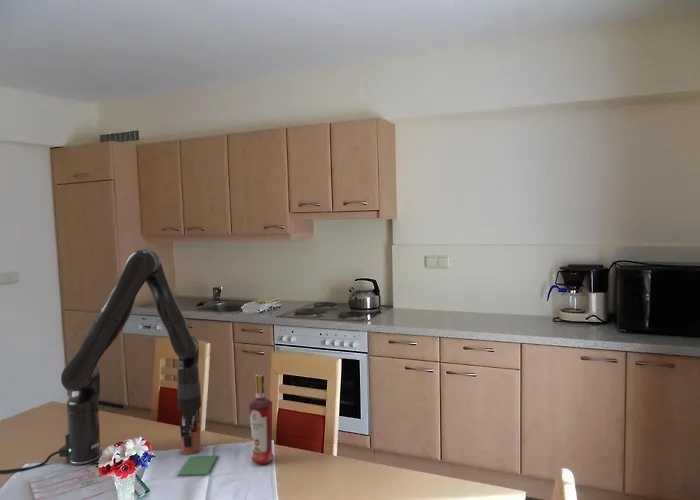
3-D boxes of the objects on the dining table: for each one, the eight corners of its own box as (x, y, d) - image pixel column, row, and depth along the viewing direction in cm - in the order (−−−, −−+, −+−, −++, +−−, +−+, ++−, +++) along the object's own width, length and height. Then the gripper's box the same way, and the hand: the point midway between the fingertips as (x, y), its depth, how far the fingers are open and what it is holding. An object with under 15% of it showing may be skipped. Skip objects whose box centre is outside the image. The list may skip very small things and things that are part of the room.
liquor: (246, 464, 158) (243, 377, 157) (258, 454, 165) (255, 371, 163) (267, 468, 155) (263, 379, 154) (278, 457, 162) (275, 373, 161)
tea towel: (178, 476, 152) (178, 474, 152) (190, 458, 164) (190, 456, 164) (207, 475, 152) (207, 473, 152) (217, 457, 164) (217, 455, 164)
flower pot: (179, 454, 166) (178, 433, 166) (185, 446, 173) (184, 426, 172) (197, 453, 167) (196, 433, 166) (203, 445, 173) (202, 426, 172)
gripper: (184, 387, 176) (186, 434, 177) (170, 402, 161) (172, 452, 162) (206, 387, 176) (208, 433, 177) (193, 401, 162) (195, 451, 162)
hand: (191, 442), depth 169 cm, fingers closed on flower pot, 6 cm apart
